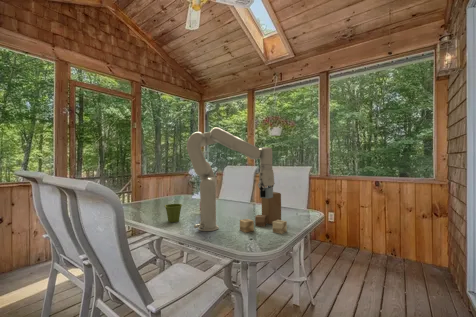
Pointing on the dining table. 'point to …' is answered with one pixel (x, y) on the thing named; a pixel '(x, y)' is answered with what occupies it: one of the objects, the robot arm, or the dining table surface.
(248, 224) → the cube oak
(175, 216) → the plant pot
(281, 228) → the cube maple
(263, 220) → the cube walnut
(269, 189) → the cube slate
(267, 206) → the block
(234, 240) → the dining table surface
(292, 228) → the dining table surface
